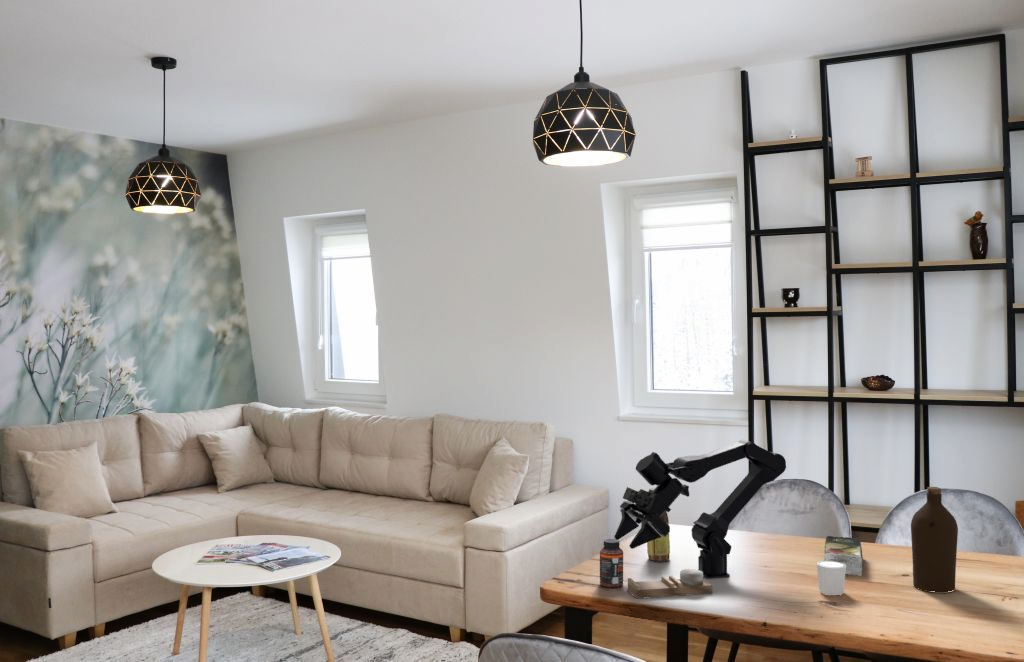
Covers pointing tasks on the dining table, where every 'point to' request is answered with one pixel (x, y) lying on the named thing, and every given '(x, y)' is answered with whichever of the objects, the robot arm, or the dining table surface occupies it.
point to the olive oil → (934, 545)
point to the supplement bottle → (611, 564)
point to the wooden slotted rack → (671, 585)
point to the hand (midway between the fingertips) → (622, 543)
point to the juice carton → (845, 553)
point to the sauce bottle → (659, 544)
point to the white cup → (831, 577)
